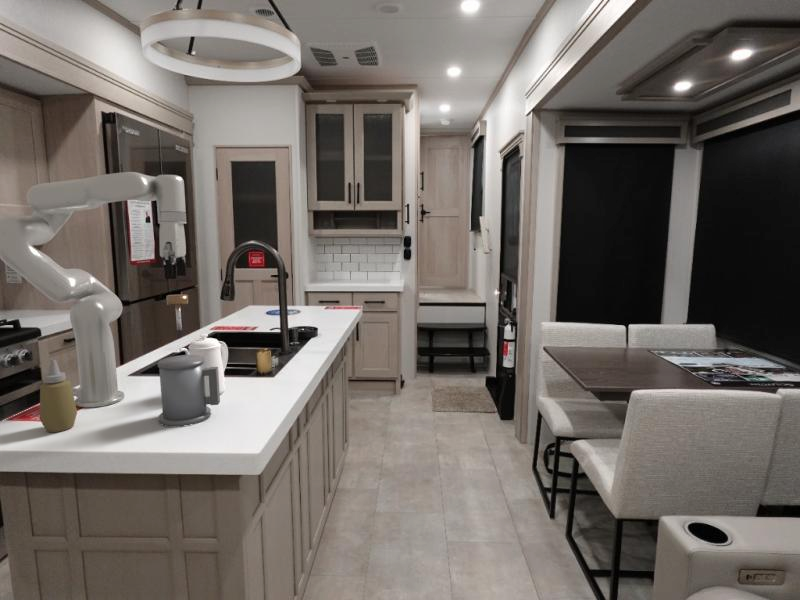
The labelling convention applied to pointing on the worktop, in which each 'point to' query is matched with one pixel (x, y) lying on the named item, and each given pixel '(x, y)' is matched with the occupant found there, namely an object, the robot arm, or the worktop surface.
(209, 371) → the press carafe
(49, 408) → the squeeze bottle
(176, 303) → the plunger
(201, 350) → the coffeepot
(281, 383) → the worktop surface
